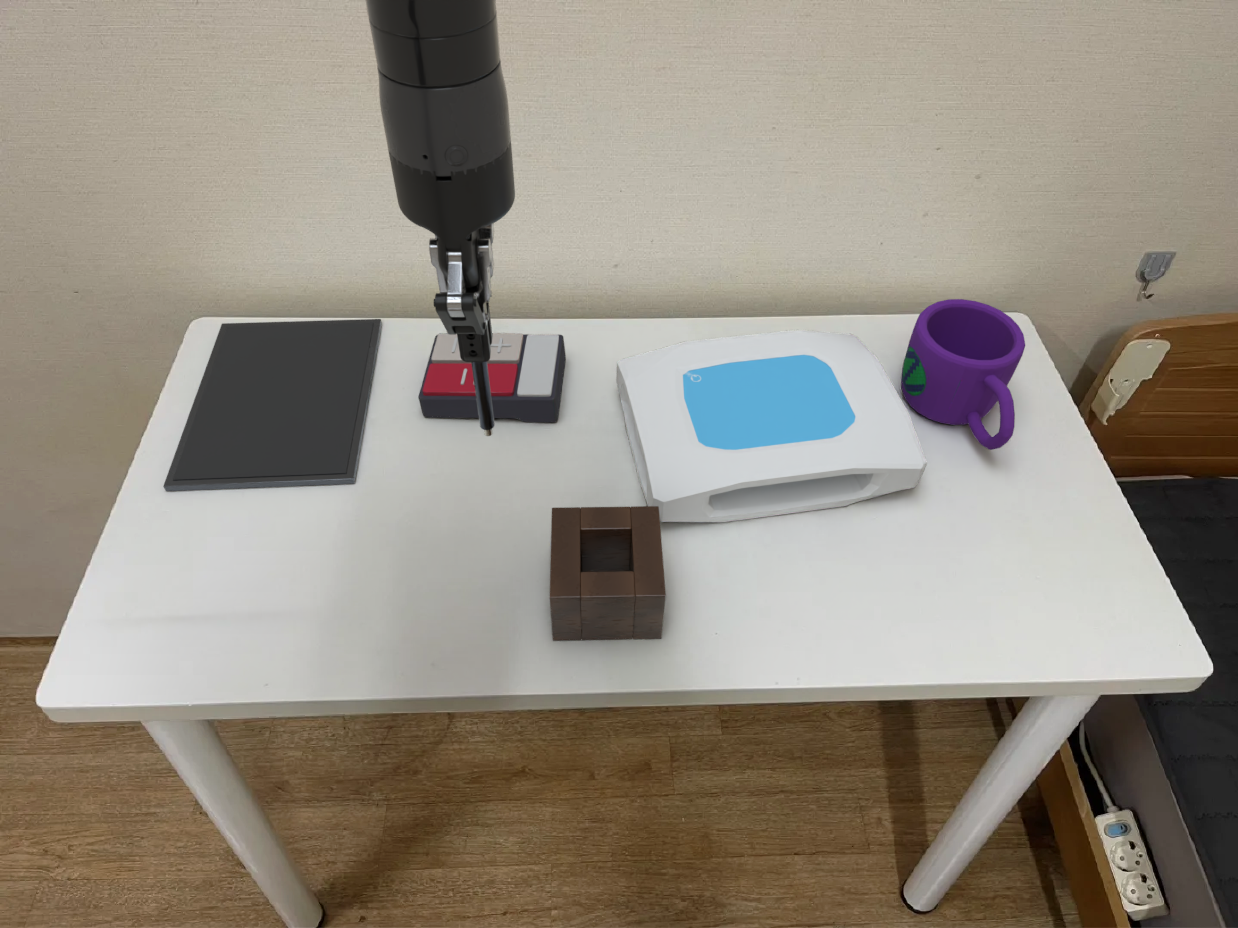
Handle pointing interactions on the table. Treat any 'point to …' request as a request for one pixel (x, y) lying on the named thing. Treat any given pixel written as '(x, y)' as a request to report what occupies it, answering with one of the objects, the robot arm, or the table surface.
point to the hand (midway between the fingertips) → (477, 350)
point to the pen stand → (606, 573)
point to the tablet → (279, 406)
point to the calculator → (497, 378)
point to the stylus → (483, 396)
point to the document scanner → (765, 426)
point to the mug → (963, 366)
